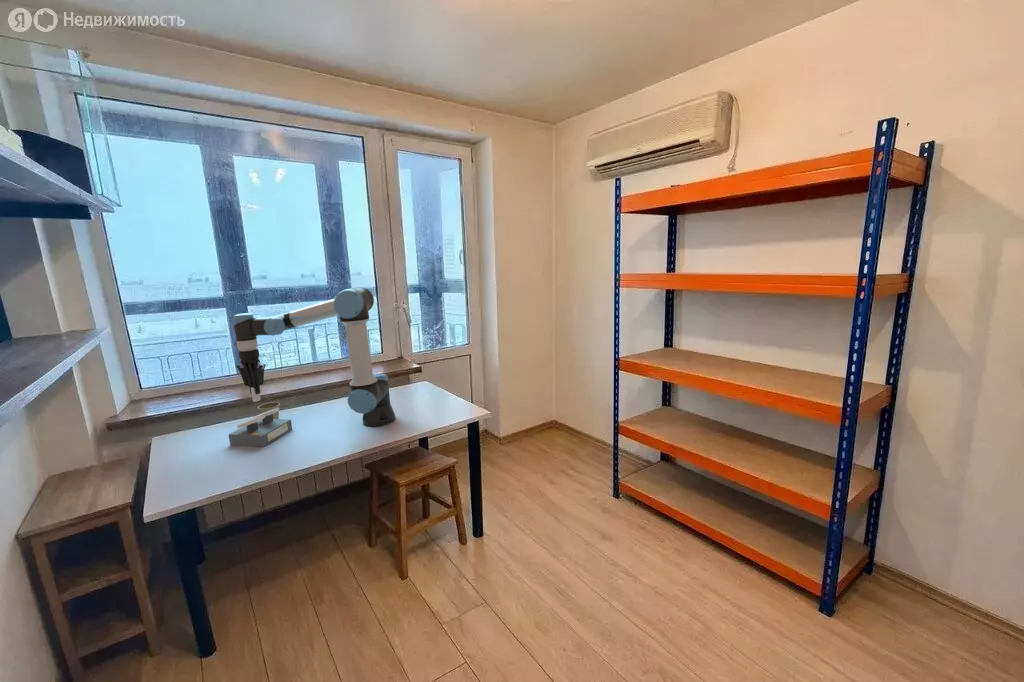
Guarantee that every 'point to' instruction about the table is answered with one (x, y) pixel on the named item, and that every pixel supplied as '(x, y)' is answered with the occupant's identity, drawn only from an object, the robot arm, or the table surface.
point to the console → (260, 432)
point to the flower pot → (270, 408)
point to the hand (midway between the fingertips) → (256, 400)
